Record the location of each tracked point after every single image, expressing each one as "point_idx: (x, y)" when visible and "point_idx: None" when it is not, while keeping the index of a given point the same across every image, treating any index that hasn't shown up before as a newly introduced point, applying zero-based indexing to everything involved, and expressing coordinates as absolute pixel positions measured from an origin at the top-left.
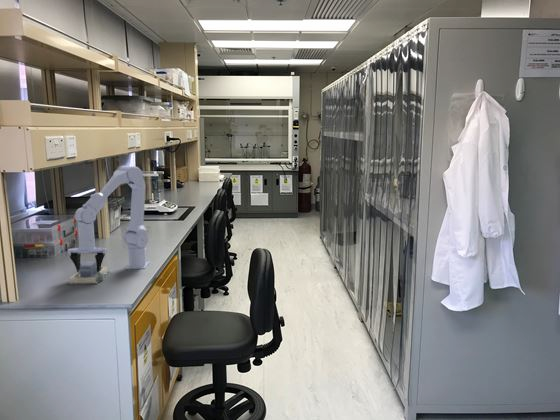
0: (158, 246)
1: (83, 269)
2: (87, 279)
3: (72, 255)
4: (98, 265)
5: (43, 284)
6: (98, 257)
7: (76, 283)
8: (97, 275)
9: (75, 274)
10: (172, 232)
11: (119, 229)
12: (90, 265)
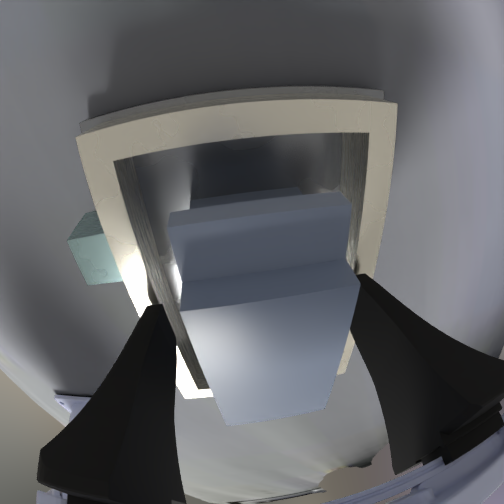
0: (185, 478)
1: (275, 226)
2: (174, 110)
3: (486, 411)
4: (121, 359)
5: (500, 139)
6: (68, 459)
7: (300, 87)
8: (100, 219)
9: (370, 223)
10: (211, 494)
11: (318, 482)
12: (201, 338)
